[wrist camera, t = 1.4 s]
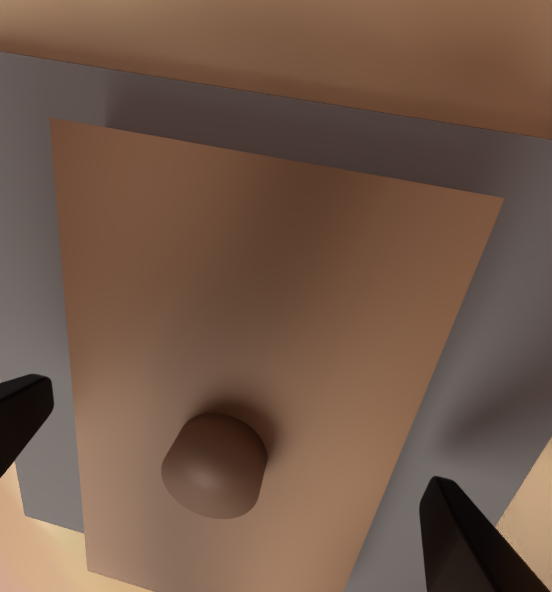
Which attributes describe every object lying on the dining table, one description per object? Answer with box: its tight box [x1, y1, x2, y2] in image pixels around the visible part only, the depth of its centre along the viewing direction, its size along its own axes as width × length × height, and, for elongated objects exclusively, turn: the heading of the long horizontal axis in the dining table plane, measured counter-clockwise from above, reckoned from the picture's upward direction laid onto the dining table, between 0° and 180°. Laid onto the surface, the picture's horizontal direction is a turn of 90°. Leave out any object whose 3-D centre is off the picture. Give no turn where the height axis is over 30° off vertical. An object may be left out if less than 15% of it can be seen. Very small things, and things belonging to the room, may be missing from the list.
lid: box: [49, 117, 505, 592], centre depth 8 cm, size 7×12×2 cm, turn 171°
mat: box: [0, 52, 552, 592], centre depth 9 cm, size 14×14×1 cm
